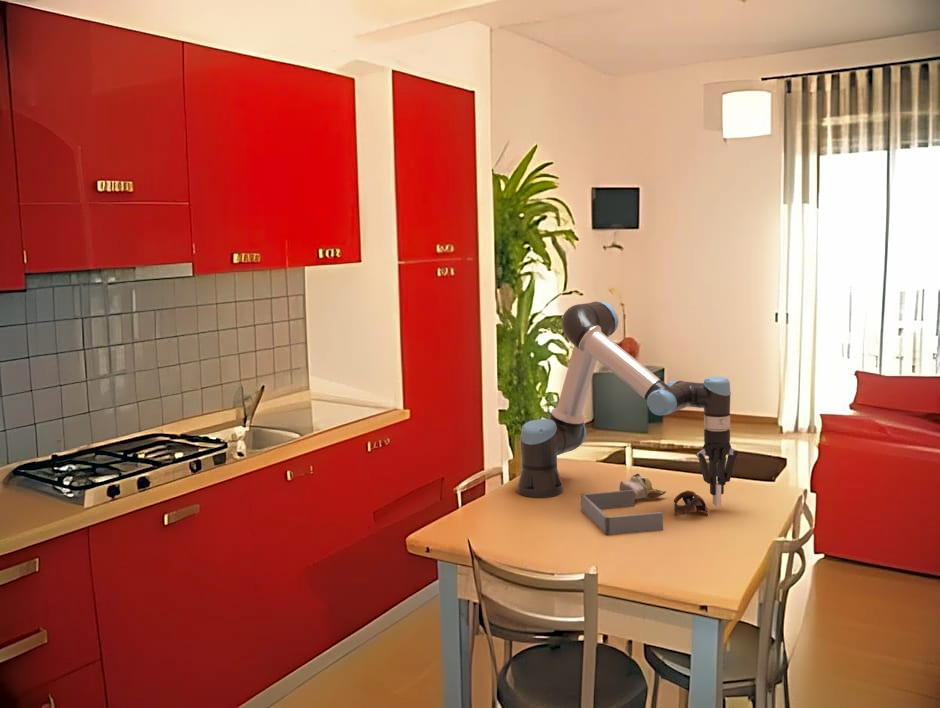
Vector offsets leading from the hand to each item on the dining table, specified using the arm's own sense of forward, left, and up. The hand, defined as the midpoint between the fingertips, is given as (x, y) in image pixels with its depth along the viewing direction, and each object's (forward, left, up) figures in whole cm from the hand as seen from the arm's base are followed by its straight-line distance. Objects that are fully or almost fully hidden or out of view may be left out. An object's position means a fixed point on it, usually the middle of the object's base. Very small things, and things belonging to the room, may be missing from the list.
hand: (716, 504), depth 265 cm
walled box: (0, -30, -2) cm, 30 cm away
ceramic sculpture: (-18, -18, -2) cm, 25 cm away
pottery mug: (+1, -9, -2) cm, 9 cm away
